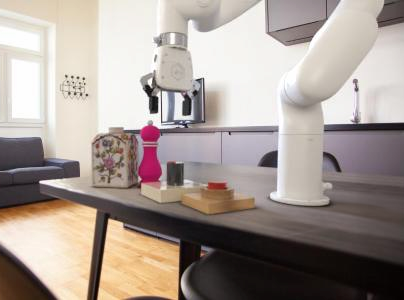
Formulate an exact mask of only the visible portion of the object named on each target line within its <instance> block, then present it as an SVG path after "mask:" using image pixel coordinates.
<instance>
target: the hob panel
mask: <svg viewBox="0 0 404 300" xmlns="http://www.w3.org/2000/svg"><path fill="white" fill-rule="evenodd" d="M206 185H207V184H205V183H201V182H197V181H194V180H189V179H184V185H179V186H173V185H167V180H166V181H160V182H150V183H141V187H140V189H141V191H140V194H141V196H144V197H147V198H149V199H151V200H153V201H156V202H157V203H159V204H163V203H164V204H165V203H173V202H182V194H188V193H199V192H201V187H202V186H206Z"/></svg>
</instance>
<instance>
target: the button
mask: <svg viewBox="0 0 404 300" xmlns="http://www.w3.org/2000/svg"><path fill="white" fill-rule="evenodd" d="M227 183H228V182H227V180H226V181H225V180H220V179H219V180H218V179H211V180H208V181H207V185H208V189H215V190H224V189H227V186H228V184H227Z"/></svg>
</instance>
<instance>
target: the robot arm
mask: <svg viewBox="0 0 404 300" xmlns="http://www.w3.org/2000/svg"><path fill="white" fill-rule="evenodd" d="M262 1H263V0H157V33H156V35H157V36H154V37H153V38H152V43H153V44H156V48H155V49H154V53H153V57H152V62H151V72H149V73H147V74H144V75H142V76H140V77H139V82H140V85H141V87H142V90H143V91H144V93H145V94H146V97H147V98H148V110H149V114H150V115H156V114H158V113H159V104H160V103H159V102H160V101H159V95H158V94H159V93H160V92H166V93H176V94H180V95H181V97H182V98H183V100H182V102H181V103H182V104H181V116H182V117H189V116H192V111H193V110H192V109H193V101H194V100H195V97H196V96H197V95H198V94H199V93H198V92H199V91H200V89H201V83H200V82H198V81H197V80H196V79H194V69H193V68H194V67H193V59H192V54H191V51H190V50H188V46H189V45H188V44H189V43H188V41H189V21H190V25H191V27H192V28H193V29H194V30H195V31H196V32H199V33H208V32H212V31H215V30H217V29H219V28H221V27H224V26H225V25H227V24H229V23H231V22H233V21H235V20H236V19H237V18H239V17H240V16H242V15H243V14H245V13H246V12H248V11H249V10H251V9H252V8H254V7H256V6H257V5H258V4H259V3H261V2H262ZM384 5H385V0H340V1H339V2H338V4H337V6H336V7H335V9H334V10H333V12H332V13H331V15H330V16H329V17H328V18H327V20H326V21H325V22H324V24H323V25H322V27H320V28H319V30H317V32H316V33H315V34H314V36H313V37H312V39H311V41H310V43H309V47H308V51H307V52H306V54H305V55H304V56H303V58H302V59H301V60H300V61H299V62H298V63H297V64H296V65H294V66H293V67H291V68H290V69H288V70H287V71H286V72H285V73H284V74H283V76H281V78H280V80H279V82H278V85H277V88H276V89H277V90H276V100H277V111H278V137H277V138H278V139H277V175H276V182H277V183H276V191H272V192H270V193H269V198H270V199H271V200H272V201H275V202H278V203H281V204H288V205H292V206H303V207H304V206H305V207H320V206H327V205H329V204H330V198H329V196H327V195H325V194H324V192H327V191H332V189H333V184H332V183H331V182H324V181H323V167H324V165H323V164H324V163H323V162H324V136H325V135H324V134H325V118H324V112H323V106H322V102H325V101H327V100H329V99H331V98H333V96H335V95H336V94H337V93H338V92H339V91H340V90H341V89H342V88H343V86H345V84H346V83H347V82H348V80H349V79H350V78H351V77H352V75H353V74H354V72H355V71H356V70H357V69H358V67H359V66H360V65H361V64H362V62H364V60H365V58H366V57H367V56H368V55H369V54H370V52H371V51H372V49H373V47H374V46H375V44H376V42H377V39H378V35H379V24H378V20H377V19H378V17H379V15H380V14H381V12H382V10H383V7H384ZM149 80H150V84H149V82H148V81H149ZM157 95H158V96H157Z"/></svg>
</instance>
